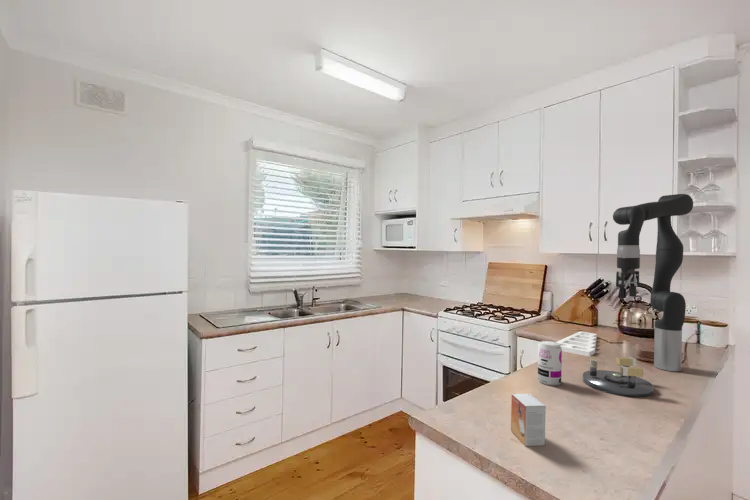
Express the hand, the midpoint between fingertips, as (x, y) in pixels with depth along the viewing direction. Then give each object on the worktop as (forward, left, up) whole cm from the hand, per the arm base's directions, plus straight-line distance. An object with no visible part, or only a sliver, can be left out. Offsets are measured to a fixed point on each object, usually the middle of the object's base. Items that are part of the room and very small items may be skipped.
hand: (627, 297), depth 144 cm
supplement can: (+32, -13, -32) cm, 47 cm away
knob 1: (+17, -5, -30) cm, 34 cm away
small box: (+76, +8, -32) cm, 83 cm away
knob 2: (+17, +8, -30) cm, 35 cm away
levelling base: (+13, +2, -32) cm, 35 cm away
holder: (-37, -36, -33) cm, 61 cm away
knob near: (+6, +2, -30) cm, 30 cm away
